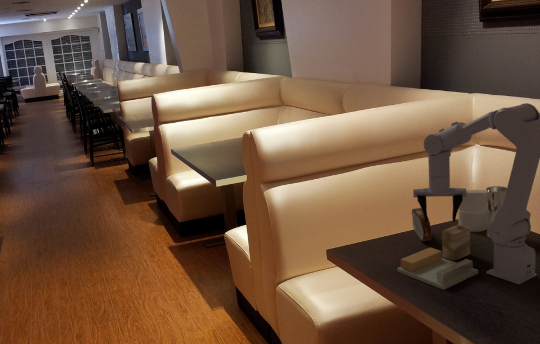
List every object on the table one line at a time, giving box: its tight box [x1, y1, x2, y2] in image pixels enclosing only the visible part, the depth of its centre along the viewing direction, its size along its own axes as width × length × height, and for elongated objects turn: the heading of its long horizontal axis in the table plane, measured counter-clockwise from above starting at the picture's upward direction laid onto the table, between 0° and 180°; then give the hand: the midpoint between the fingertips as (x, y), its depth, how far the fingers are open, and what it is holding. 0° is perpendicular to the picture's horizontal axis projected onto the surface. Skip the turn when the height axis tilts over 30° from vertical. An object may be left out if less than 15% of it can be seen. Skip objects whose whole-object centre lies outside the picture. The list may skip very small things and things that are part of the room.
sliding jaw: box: [400, 247, 443, 272], centre depth 152 cm, size 4×12×2 cm, turn 125°
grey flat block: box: [396, 257, 479, 291], centre depth 148 cm, size 16×14×4 cm
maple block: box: [441, 224, 471, 262], centre depth 157 cm, size 4×7×8 cm, turn 125°
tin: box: [411, 207, 432, 243], centre depth 174 cm, size 15×3×8 cm, turn 179°
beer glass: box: [485, 185, 508, 239], centre depth 169 cm, size 7×7×15 cm
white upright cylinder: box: [458, 189, 488, 233], centre depth 178 cm, size 9×9×12 cm
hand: (439, 220), depth 160 cm, fingers open, 7 cm apart
